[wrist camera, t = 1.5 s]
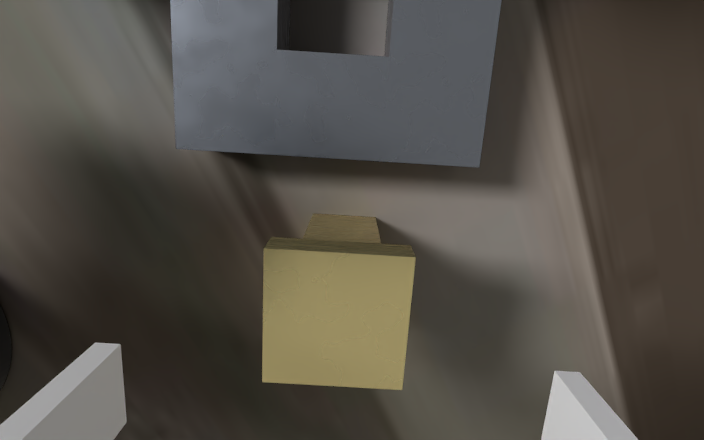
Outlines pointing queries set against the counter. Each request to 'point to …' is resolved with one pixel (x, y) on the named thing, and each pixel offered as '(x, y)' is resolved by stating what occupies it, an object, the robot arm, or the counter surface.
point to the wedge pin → (336, 306)
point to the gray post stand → (334, 83)
